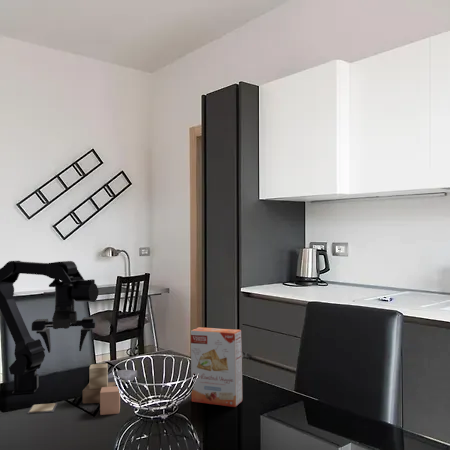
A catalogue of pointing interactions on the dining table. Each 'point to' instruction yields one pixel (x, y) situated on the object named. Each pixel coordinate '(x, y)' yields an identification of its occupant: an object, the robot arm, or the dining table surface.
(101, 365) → the oak block
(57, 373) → the dining table surface
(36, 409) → the tile
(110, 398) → the terracotta block
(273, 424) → the dining table surface
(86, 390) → the walnut base block
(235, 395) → the cracker box
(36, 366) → the robot arm
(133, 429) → the dining table surface
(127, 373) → the stone block
